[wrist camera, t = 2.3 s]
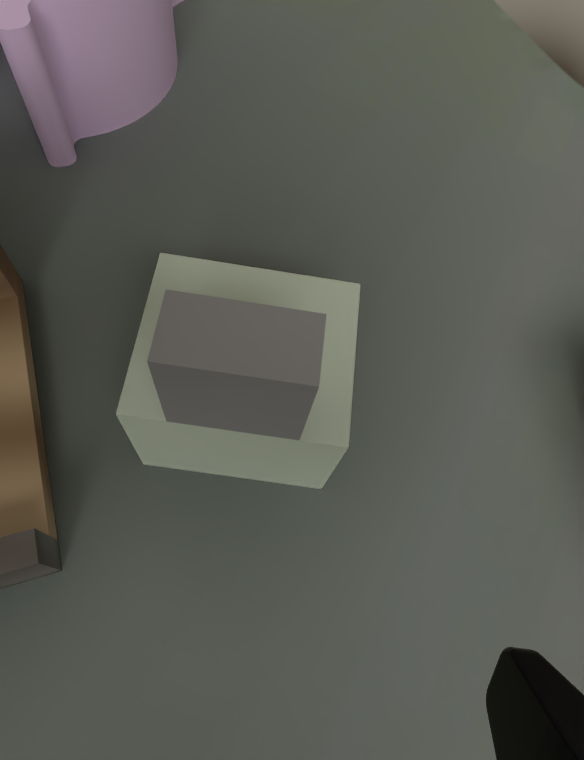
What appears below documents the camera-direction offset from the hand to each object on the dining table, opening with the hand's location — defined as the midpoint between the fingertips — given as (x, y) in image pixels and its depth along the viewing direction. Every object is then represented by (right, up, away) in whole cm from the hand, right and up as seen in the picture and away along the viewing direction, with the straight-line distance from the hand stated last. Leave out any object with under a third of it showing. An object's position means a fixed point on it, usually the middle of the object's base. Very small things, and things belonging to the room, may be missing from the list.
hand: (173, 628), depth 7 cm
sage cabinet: (0, +2, +15) cm, 15 cm away
